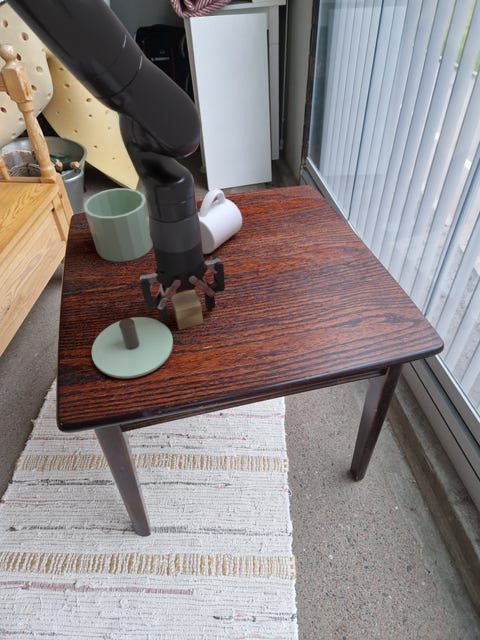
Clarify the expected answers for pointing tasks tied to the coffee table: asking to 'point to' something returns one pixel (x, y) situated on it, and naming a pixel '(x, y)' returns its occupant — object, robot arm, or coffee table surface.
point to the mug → (217, 220)
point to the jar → (119, 224)
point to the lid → (132, 347)
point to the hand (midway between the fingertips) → (187, 314)
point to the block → (186, 309)
